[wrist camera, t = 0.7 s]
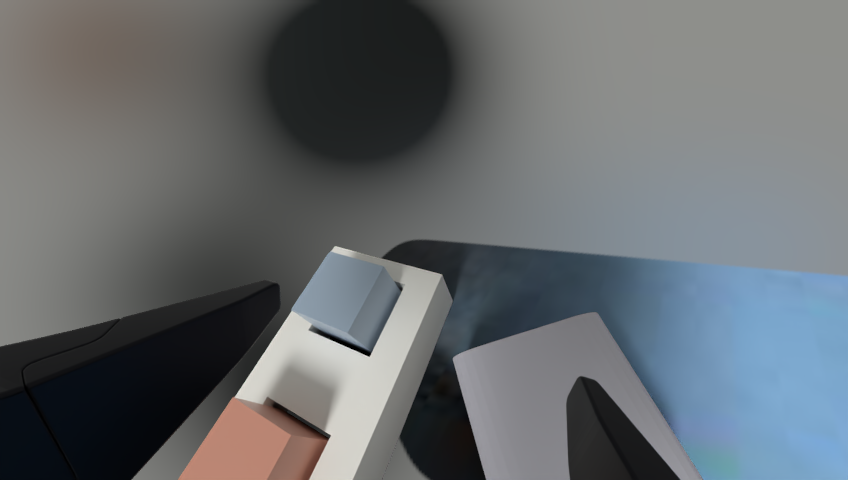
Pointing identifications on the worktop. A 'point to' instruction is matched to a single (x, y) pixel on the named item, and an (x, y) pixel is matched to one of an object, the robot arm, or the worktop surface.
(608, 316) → the worktop surface
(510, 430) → the charger
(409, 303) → the key console
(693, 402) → the worktop surface
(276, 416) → the brick key
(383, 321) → the slate key
